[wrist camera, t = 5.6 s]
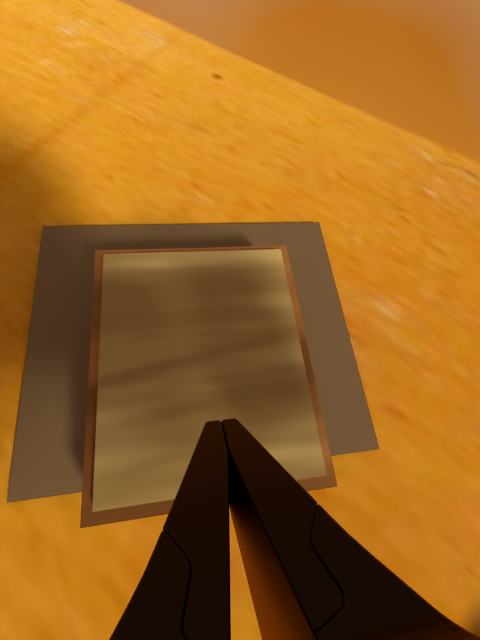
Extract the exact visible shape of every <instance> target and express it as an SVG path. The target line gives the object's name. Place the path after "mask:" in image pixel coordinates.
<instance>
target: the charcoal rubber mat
mask: <svg viewBox="0 0 480 640" xmlns="http://www.w3.org/2000/svg"><path fill="white" fill-rule="evenodd" d="M250 246H286V247H287V252H288V256H289V261H290V266H291V270H292V275H293V280H294V285H295V289H296V294H297V299H298V303H299V308H300V313H301V318H302V322H303V327H304V332H305V336H306V341H307V346H308V351H309V355H310V360H311V365H312V369H313V374H314V379H315V384H316V388H317V393H318V398H319V402H320V407H321V412H322V417H323V421H324V426H325V431H326V435H327V440H328V445H329V450H330V454H331V456H333V455H340V454H347V453H354V452H361V451H368V450H374V449H379V446H378V442H377V438H376V434H375V431H374V427H373V423H372V419H371V416H370V412H369V408H368V404H367V401H366V397H365V393H364V389H363V386H362V382H361V378H360V374H359V371H358V367H357V363H356V359H355V356H354V352H353V348H352V344H351V341H350V337H349V333H348V329H347V326H346V322H345V318H344V314H343V311H342V307H341V303H340V299H339V296H338V292H337V288H336V284H335V281H334V277H333V273H332V269H331V266H330V262H329V258H328V254H327V251H326V247H325V243H324V239H323V236H322V232H321V228H320V224H319V222H312V223H239V224H165V225H91V226H43V231H42V239H41V246H40V254H39V262H38V269H37V277H36V284H35V292H34V299H33V307H32V315H31V322H30V330H29V337H28V345H27V353H26V360H25V368H24V375H23V383H22V391H21V398H20V406H19V413H18V421H17V428H16V436H15V444H14V451H13V459H12V466H11V474H10V482H9V489H8V497H7V503H8V502H15V501H22V500H29V499H36V498H43V497H50V496H57V495H64V494H71V493H77V492H82V488H83V469H84V451H85V433H86V414H87V396H88V378H89V359H90V341H91V323H92V305H93V286H94V268H95V251H97V250H135V249H174V248H212V247H250Z"/></svg>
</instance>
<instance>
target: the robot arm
mask: <svg viewBox="0 0 480 640" xmlns="http://www.w3.org/2000/svg"><path fill="white" fill-rule="evenodd" d="M229 507H230V511H231V516H232V520H233V524H234V528H235V532H236V536H237V540H238V544H239V548H240V552H241V556H242V560H243V564H244V568H245V572H246V576H247V580H248V584H249V588H250V592H251V596H252V600H253V604H254V608H255V612H256V616H257V620H258V624H259V628H260V632H261V636H262V640H480V637H478V636H476V635H474V634H473V633H471V632H469V631H467V630H465V629H464V628H462V627H461V626H459V625H457V624H456V623H454V622H453V621H451V620H450V619H448V618H447V617H446V616H444V615H443V614H442V613H440V612H439V611H438V610H437V609H435V608H434V607H433V606H432V605H430V604H429V603H428V602H427V601H426V600H424V599H423V598H422V597H421V596H420V595H419V594H417V593H416V592H415V591H414V590H413V589H412V588H410V587H409V586H408V585H407V584H406V583H405V582H403V581H402V580H401V579H400V578H399V577H398V576H396V575H395V574H394V573H393V572H392V571H390V570H389V569H388V568H387V567H386V566H385V565H383V564H382V563H381V562H380V561H379V560H378V559H376V558H375V557H374V556H373V555H372V554H371V553H370V552H368V551H367V550H366V549H365V548H364V547H363V546H362V545H361V544H359V543H358V542H357V541H356V540H355V539H354V538H353V537H352V536H350V535H349V534H348V533H347V532H346V531H345V530H344V529H343V528H342V527H341V526H340V525H339V524H338V523H337V522H336V521H335V520H334V519H333V518H332V517H331V516H330V515H329V514H328V513H327V512H326V511H325V510H324V509H323V508H322V507H321V506H320V505H319V504H318V505H317V502H316V501H315V500H314V498H313V497H312V496H311V495H310V494H309V493H308V492H307V491H306V490H305V489H304V488H303V487H302V486H301V485H300V484H299V483H298V482H297V481H296V480H295V479H294V478H293V477H292V476H291V475H290V474H289V473H288V472H287V471H286V469H285V468H284V467H283V466H282V465H281V464H280V463H279V462H278V461H277V460H276V459H275V458H274V457H273V456H272V455H271V454H270V453H269V452H268V451H267V450H266V449H265V448H264V447H263V446H262V445H261V444H260V443H259V441H258V440H257V439H256V438H255V437H254V436H253V435H252V434H251V433H250V432H249V431H248V430H247V429H246V428H245V427H244V426H243V425H242V424H241V423H240V422H239V421H238V420H237V419H235V418H232V419H224V420H222V422H221V421H220V420H215V421H207V422H206V423H205V425H204V427H203V430H202V432H201V435H200V437H199V440H198V442H197V445H196V447H195V450H194V452H193V455H192V457H191V460H190V462H189V465H188V467H187V470H186V472H185V475H184V477H183V480H182V482H181V484H180V487H179V489H178V492H177V494H176V497H175V499H174V502H173V504H172V507H171V509H170V512H169V514H168V517H167V519H166V522H165V524H164V527H163V531H162V532H161V534H160V536H159V539H158V541H157V544H156V546H155V549H154V551H153V553H152V555H151V558H150V560H149V562H148V565H147V567H146V569H145V571H144V574H143V576H142V578H141V580H140V582H139V584H138V586H137V588H136V590H135V592H134V594H133V596H132V598H131V600H130V602H129V604H128V605H127V607H126V609H125V611H124V613H123V615H122V617H121V619H120V620H119V622H118V624H117V626H116V628H115V630H114V632H113V634H112V635H111V637H110V639H109V640H231V626H230V543H229Z"/></svg>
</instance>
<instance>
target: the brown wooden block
mask: <svg viewBox="0 0 480 640" xmlns="http://www.w3.org/2000/svg"><path fill="white" fill-rule="evenodd" d="M232 418H235V419H237V420H238V421H239V422H240V423H241V424H242V425H243V426H244V427H245V428H246V429H247V430H248V431H249V432H250V433H251V434H252V435H253V436H254V437H255V438H256V439H257V440H258V441H259V443H260V444H261V445H262V446H263V447H264V448H265V449H266V450H267V451H268V452H269V453H270V454H271V455H272V456H273V457H274V458H275V459H276V460H277V461H278V462H279V463H280V464H281V465H282V466H283V467H284V468H285V469H286V471H287V472H288V473H289V474H290V475H291V476H292V477H293V478H294V479H295V480H296V481H297V482H298V483H299V484H300V485H301V486H302V487H303V488H304V489H305V490H306V491H312V490H318V489H324V488H330V487H336V486H337V483H336V478H335V473H334V468H333V464H332V459H331V454H330V450H329V445H328V440H327V435H326V431H325V426H324V421H323V417H322V412H321V407H320V402H319V398H318V393H317V388H316V384H315V379H314V374H313V369H312V365H311V360H310V355H309V351H308V346H307V341H306V336H305V332H304V327H303V322H302V318H301V313H300V308H299V303H298V299H297V294H296V289H295V285H294V280H293V275H292V270H291V266H290V261H289V256H288V252H287V247H286V246H250V247H212V248H174V249H135V250H97V251H95V268H94V286H93V305H92V323H91V341H90V359H89V378H88V396H87V414H86V433H85V451H84V469H83V488H82V506H81V524H80V528H84V527H90V526H97V525H103V524H109V523H115V522H121V521H127V520H133V519H140V518H146V517H152V516H158V515H164V514H169V512H170V509H171V507H172V504H173V502H174V499H175V497H176V494H177V492H178V489H179V487H180V484H181V482H182V480H183V477H184V475H185V472H186V470H187V467H188V465H189V462H190V460H191V457H192V455H193V452H194V450H195V447H196V445H197V442H198V440H199V437H200V435H201V432H202V430H203V427H204V425H205V423H206V422H207V421H215V420H220V421H221V422H222V420H224V419H232Z"/></svg>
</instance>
